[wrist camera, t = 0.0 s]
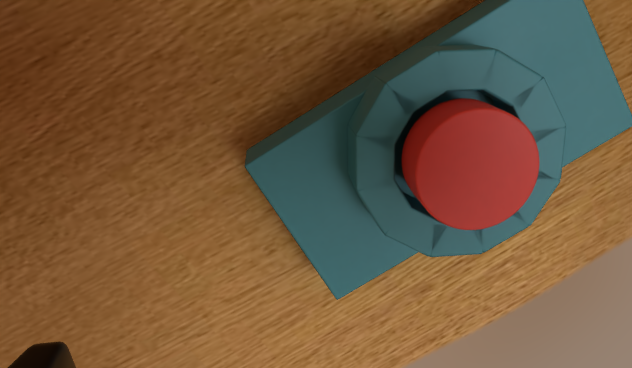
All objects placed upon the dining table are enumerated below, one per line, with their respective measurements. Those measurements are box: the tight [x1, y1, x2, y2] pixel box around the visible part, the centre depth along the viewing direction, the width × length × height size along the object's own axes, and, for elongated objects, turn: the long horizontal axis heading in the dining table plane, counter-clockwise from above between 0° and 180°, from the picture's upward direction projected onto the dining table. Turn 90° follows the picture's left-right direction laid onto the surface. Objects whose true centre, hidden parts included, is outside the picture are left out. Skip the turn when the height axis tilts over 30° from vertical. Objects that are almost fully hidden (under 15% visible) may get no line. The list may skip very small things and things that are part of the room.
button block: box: [245, 0, 632, 300], centre depth 19 cm, size 12×6×4 cm, turn 122°
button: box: [401, 98, 539, 230], centre depth 17 cm, size 4×4×2 cm
